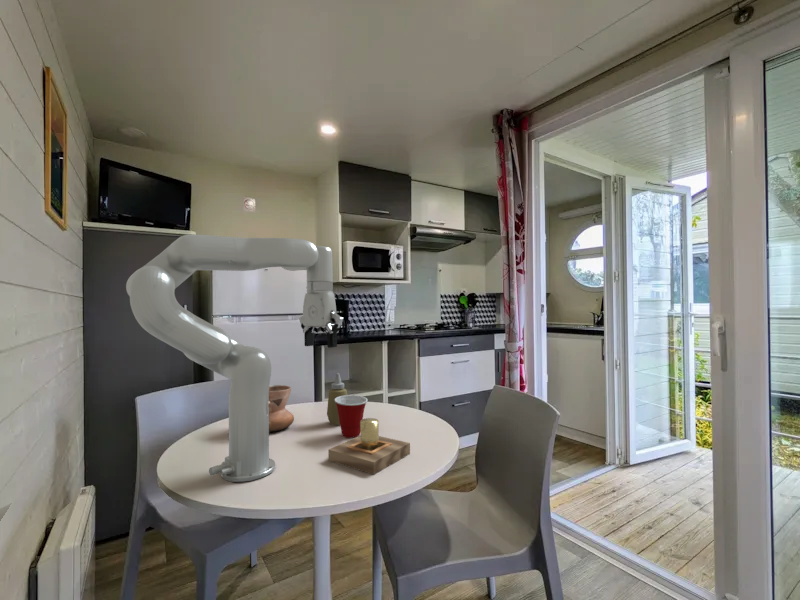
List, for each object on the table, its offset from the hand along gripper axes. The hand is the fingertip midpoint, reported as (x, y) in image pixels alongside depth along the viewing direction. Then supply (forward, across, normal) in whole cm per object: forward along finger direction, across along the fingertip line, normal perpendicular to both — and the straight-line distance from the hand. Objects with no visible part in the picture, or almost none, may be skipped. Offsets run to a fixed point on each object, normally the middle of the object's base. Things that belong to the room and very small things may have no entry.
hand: (320, 346), depth 109 cm
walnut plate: (+30, +15, +4) cm, 34 cm away
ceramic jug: (+31, -31, +6) cm, 44 cm away
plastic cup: (+31, -2, +15) cm, 34 cm away
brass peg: (+30, +15, +4) cm, 34 cm away
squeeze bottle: (+31, -15, +22) cm, 40 cm away
